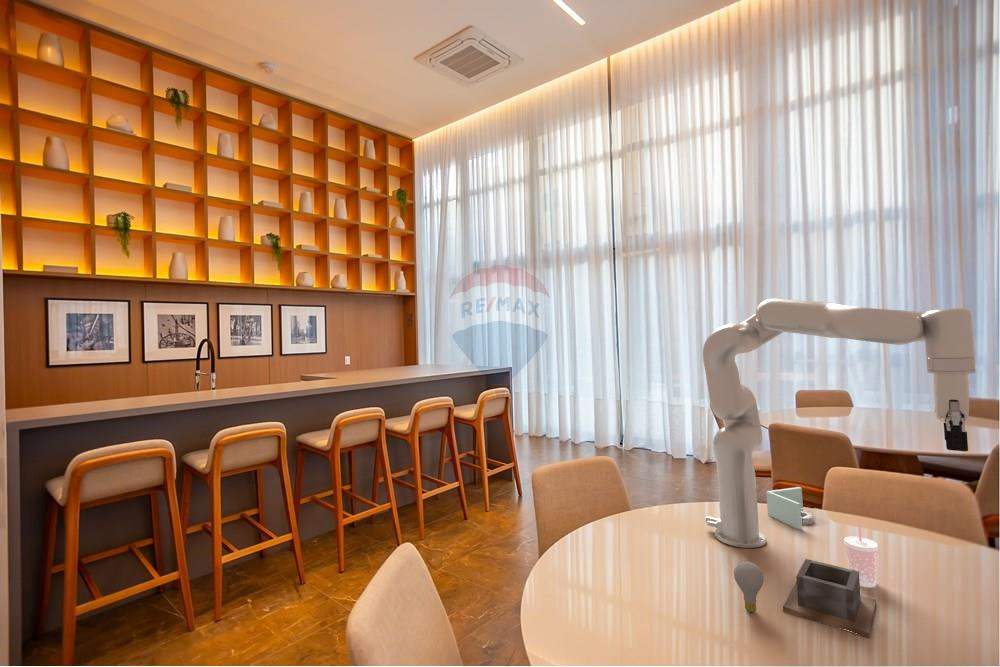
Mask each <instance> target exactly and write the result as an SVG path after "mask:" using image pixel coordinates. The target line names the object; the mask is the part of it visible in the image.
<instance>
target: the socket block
mask: <svg viewBox="0 0 1000 667" xmlns="http://www.w3.org/2000/svg"><path fill="white" fill-rule="evenodd" d="M813 577H814V578H813ZM795 578H796V580H795V583H794V584H793V586H792V587H791V590H790V591H789V594H788V596H787V598H786V600H785V602H784V603H783V605H782V611H783V612H784V613H788V614H790V615H795V616H797V617H800V618H803V619H806V620H809V619H810V621H813V622H817V623H819V622H820V623H819V624H822V623H823V624H822V625H825V624H828V625H827V626H829V625H831V626H830V627H832V626H834V627H833V628H835V627H836V629H838V628H841V629H840V630H842V629H846V630H849V631H852V632H854V633H857V634H856V635H858V634H859V635H858V636H861V637H864V636H865V638H867V637H868V638H867V639H870V637H871V632H872V628H871V627H872V626H873V623H874V617H875V613H876V608H877V599H875V598H872V597H868V596H864V595H861V586H860V580H859V571H855V570H851V569H849V568H847V567H846V568H845V567H841V566H837V565H833V564H829V563H825V562H821V561H816V560H813V559H807V558H805V559H804V561H803V562H802V565H801V567H800V569H799V570H798V571H797V574H796V576H795ZM816 578H818V579H816ZM820 579H822V580H820ZM824 580H826V581H824ZM828 581H830V582H828ZM832 582H833V583H832ZM836 583H837V584H836ZM840 584H841V585H840ZM844 585H845V586H844ZM854 633H853V634H854Z"/></svg>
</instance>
